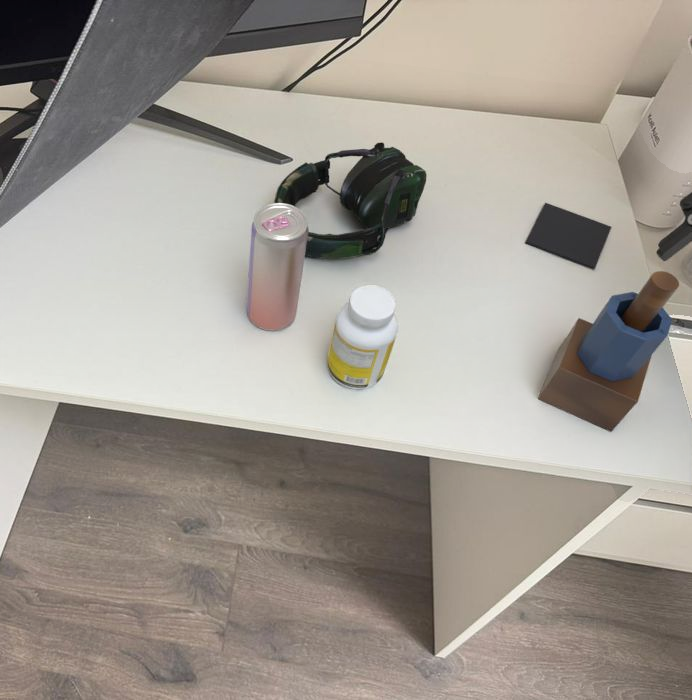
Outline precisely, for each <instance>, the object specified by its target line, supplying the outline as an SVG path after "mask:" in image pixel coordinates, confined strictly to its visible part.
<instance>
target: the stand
mask: <svg viewBox="0 0 692 700" xmlns="http://www.w3.org/2000/svg"><path fill="white" fill-rule="evenodd" d="M679 287H680V282H679V280H678V278H677V277H676V276H675V275H673V274H672V273H670V272H668V271H663V270H657V271H654V272H653V273H652V274H651V275H650V277H649V278H648V279H647V281H646V283H645V284H644V285H643V286H642V288H641V289H640V291H639V292H638V293H637V294H638V295H637V296H636V298H635V299H634V300H633V302H632V303H631V305H630V306H629V307H628V309H627V310H626V311H625V313H624V314H623V316H622V317H621V318H620V319H621V320H622V321H623V323H624V324H625V325H626V326H628V327H631V328H633V329H636V330H638V331H641V332H644V330H645V329H646V328H647V326H648V325H649V324H650V323H651V321H652V320H653V319H654V318H655V316H656V315H657V314H658V312H659V311H660V310H661V309H662V307H665V305H666V304H667V302H668V301H669V300H670V299H671V297H672V296H673V295H674V293H676V291H677V290H678V288H679ZM593 323H594V322H590V321H587V320H586V319H583V318H580V317H579V318H577V320H576V321H575V323H574V325H573V326H572V327H571V329H570V331H569V332H568V333H567V335H566V337H565V338H564V339H563V341H562V343H561V344H560V346H559V347H558V349H557V351H556V353H555V356H554V358H553V360H552V363H551V366H550V368H549V370H548V373H547V375H546V378H545V380H544V382H543V385H542V388H541V390H540V393H539V396H538V398H537V399H538V400H539V401H542V402H543V403H546V404H548V405H550V406H553V407H555V408H557V409H559V410H561V411H564V412H566V413H568V414H570V415H573V416H574V417H577V418H580V419H581V420H583V421H586V422H588V423H590V424H593V425H595V426H596V427H600V428H601V429H604V430H605V431H608V432H613V431H614V429H615V428H617V426H618V425H619V424H620V423H621V421H622V420H623V419H624V418H625V417H626V416H627V415H628V414H629V412H630V411H631V410H632V409H633V408H634V407H635V406H636V405H637V403H638V402H639V399H640V396H641V392H642V390H643V386H644V383H645V379H646V376H647V373H648V369H649V366H650V363H651V360H652V356H653V354H652V355H651V356H650V358H649V359H648V360H647V361H646V362H645V364H644V365H643V366H642V367H641V368H640V370H639V371H638V372H637V373H636V374H635V376H634V377H633V378H628V379H623V380H618V381H614V382H612V381H610V380H607V379H605V378H603V377H600V376H598V375H596V374H593V373H591V372H589V371H588V369H587V368H586V366H585V365H584V363H583V362H582V360H581V359H580V358H579V356H578V355H577V352H578V349H579V347H580V344H581V342H582V339H583V337H584V336H585V334H586V333H587V332H588V330H589V329H590V327H591V326H592V324H593Z"/></svg>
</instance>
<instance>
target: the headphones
mask: <svg viewBox="0 0 692 700" xmlns="http://www.w3.org/2000/svg"><path fill="white" fill-rule="evenodd" d="M346 157H361V158H360V159H359V160H358V161H357V162H356V163H355V164H354V166H353V167H352V168H351V169H350V170H349V172H348V173H347V175H346V176H345V178H344V180H343V182H342V184H341V188H340V191H337V190H336V189H334V188H333V187H331V186H330V185H329V183H330V169H331V161H330V160H331V159H336V158H346ZM426 171H427V170H425V169H423V168H422V167H421V166H419V165H417V164H414V163H413V162H412V161H410V160H409V159H407V157H406V155H405V154H404V152H402V150H400V149H398V148H396V147H394V146H390V147H385V143H384V142H376V143H375V144H374V147H372V148H369V149H367V148H357V149H345V150H339V151H337V152H332V153H328V154H327V155H325V157H324V160H320V161H317V162H314V163H313V162H309V163H308V162H307V161H305V162H304V163H302V164H301V165H299V166H298V167H296V168H295V169H294V170H293V171H291V172H289V173H288V175H286V177H284V178H283V179H282V181H281V182H280V184H279V185H278V187H277V189H276V192H275V196H274V202H273V204H274V203H285V204H289V205H293V206H295V207H297V206H296V205H297V203H299V202H300V201H302V200H303V199H306V198H307V197H309V196H311V195H312V194H314V193H317V191H318V190H319V187H320V186H323V185H325V186H326V187H327V189H329V190H330V191H332V192H333V193H334V194H336V195H338V196H339V201H340V202H339V203H340V204H341V206H342V208H344V209H345V210H347V211H348V212H351V213H352V214H354V215H355V216H356V217H357V219H358V221H359V222H360V224H361V225H362V226H363V227H364V228H365V229H364V228H360V229H358V230H356V231H351V232H344V233H339V234H333V233H326V234H325V233H324V234H323V233H316V232H311V231H308V239H307V245H306V252H305V256H307V257H311V258H313V259H331V260H332V259H334V260H341V259H348V258H353V257H361V256H363V255H364V256H368V255H372V254H375V253H377V252H378V251H379V250H380V249H381V248H382V247H383V245H384V242H385V239H386V235H387V232H388V230H389V228H393V227H397V226H400V225H404V224H405V222H410V221H412V220H413V217H415V216H416V212H417V209H418V205H419V202H420V200H421V197H422V195H423V193H424V190H425V186H426V183H427V172H426Z"/></svg>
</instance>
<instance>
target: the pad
mask: <svg viewBox="0 0 692 700" xmlns="http://www.w3.org/2000/svg"><path fill="white" fill-rule="evenodd" d="M611 229H612V226H611V225H608V224H605V223H602V222H600V221H597V220H594V219H592V218H590V217H589V218H588V217H586V216H583V215H582V214H578V213H575V212H573V211H570V210H567V209H564V208H561V207H559V206H556V205H553V204H550V203H548V202H544V205H542V208H541V211H540V212H539V214H538V216H537V218H536V220H535V222H534V224H533V226H532V229H531V230H530V233H529V234H528V236H527V238H526V240H525V242H524V243H525V244H526V245H529V246H531V247H534V248H536V249H539V250H541V251H545V252H547V253H549V254H552V255H555V256H557V257H560V258H562V259H565V260H568V261H570V262H573V263H575V264H577V265H580V266H583V267H586V268H588V269H591V270H595V269H596V267H597V264H598V262H599V259H600V257H601V254H602V253H603V249H604V247H605V245H606V242H607V239H608V236H609V234H610V232H611Z"/></svg>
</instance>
